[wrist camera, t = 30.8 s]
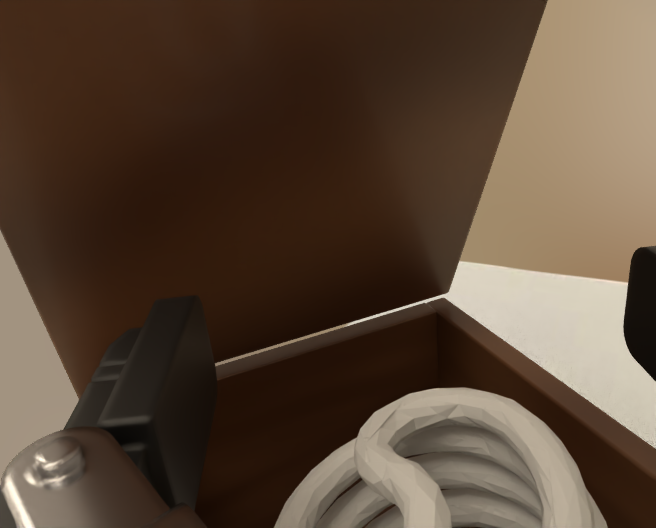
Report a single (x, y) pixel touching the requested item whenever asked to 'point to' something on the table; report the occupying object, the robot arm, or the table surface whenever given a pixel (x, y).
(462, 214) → the lid
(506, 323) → the table surface
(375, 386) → the chest
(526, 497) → the light bulb
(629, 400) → the table surface
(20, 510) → the robot arm
